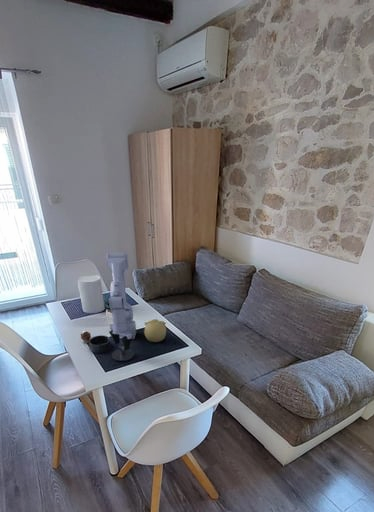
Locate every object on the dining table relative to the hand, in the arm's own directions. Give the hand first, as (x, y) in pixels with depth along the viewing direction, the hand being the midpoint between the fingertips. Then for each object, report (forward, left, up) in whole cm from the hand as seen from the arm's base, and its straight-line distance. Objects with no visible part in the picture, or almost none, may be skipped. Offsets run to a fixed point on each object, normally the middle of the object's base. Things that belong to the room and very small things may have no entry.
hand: (122, 346), depth 150 cm
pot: (+13, -7, -5) cm, 16 cm away
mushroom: (+22, -13, -6) cm, 26 cm away
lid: (0, 0, -5) cm, 5 cm away
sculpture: (-14, -18, -6) cm, 24 cm away
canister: (+30, -55, -6) cm, 63 cm away
